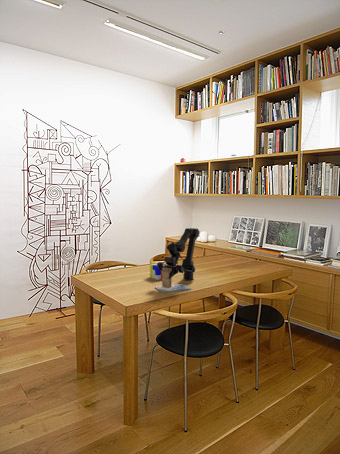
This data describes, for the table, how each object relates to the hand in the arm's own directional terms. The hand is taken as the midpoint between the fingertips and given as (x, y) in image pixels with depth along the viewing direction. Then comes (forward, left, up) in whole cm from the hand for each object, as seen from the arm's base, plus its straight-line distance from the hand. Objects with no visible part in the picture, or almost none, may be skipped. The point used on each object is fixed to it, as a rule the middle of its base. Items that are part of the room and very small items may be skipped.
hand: (165, 278), depth 222 cm
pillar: (-1, -1, -7) cm, 7 cm away
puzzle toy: (-11, -33, -9) cm, 36 cm away
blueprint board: (-6, -1, -8) cm, 10 cm away
